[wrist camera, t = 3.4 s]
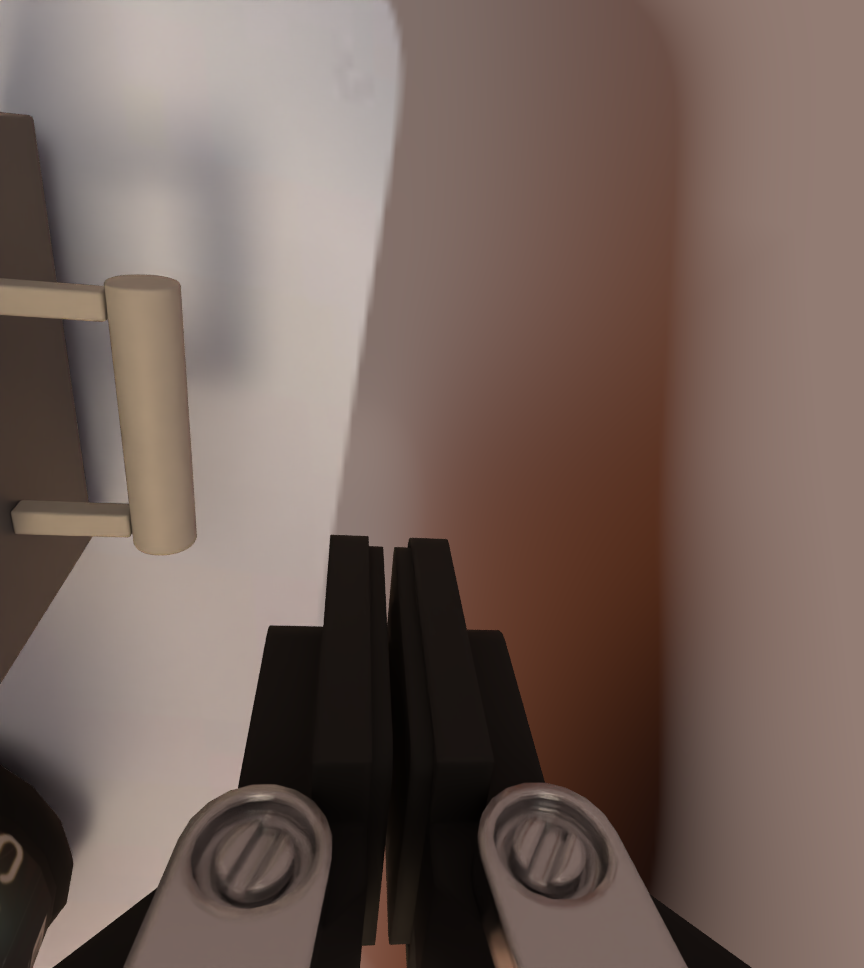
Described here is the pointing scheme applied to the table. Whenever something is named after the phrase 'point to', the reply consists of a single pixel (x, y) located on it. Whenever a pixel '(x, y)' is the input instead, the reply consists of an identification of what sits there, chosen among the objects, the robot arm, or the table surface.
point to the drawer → (51, 411)
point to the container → (29, 870)
